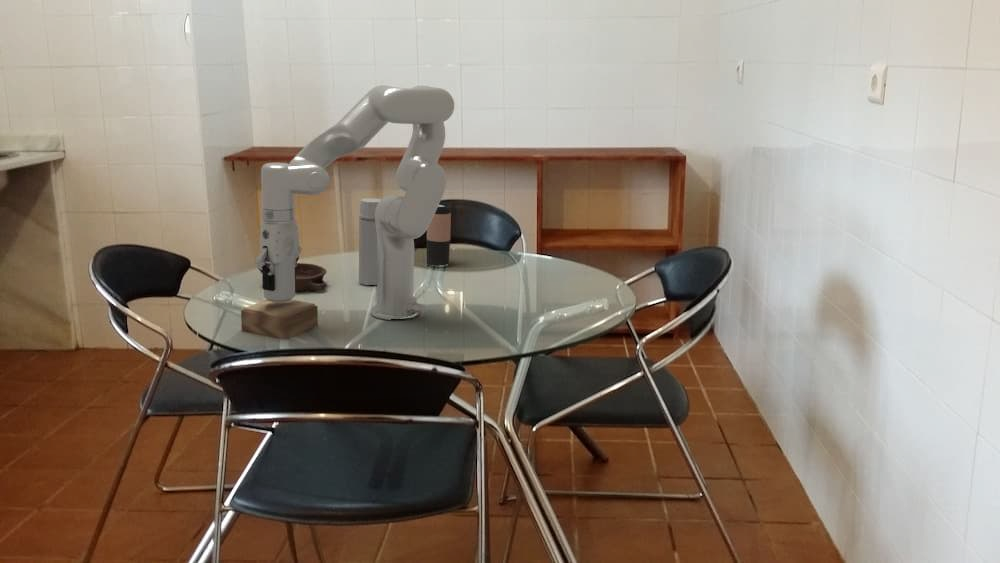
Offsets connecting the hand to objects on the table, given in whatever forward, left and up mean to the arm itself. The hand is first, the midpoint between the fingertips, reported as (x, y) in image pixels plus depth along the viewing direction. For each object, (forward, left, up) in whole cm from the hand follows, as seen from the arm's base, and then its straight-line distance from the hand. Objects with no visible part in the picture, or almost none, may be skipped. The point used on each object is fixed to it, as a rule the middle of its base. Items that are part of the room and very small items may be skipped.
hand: (279, 285), depth 212 cm
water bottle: (+3, -48, -11) cm, 49 cm away
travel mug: (-3, -78, -11) cm, 79 cm away
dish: (+20, -33, -11) cm, 40 cm away
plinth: (0, 0, -11) cm, 11 cm away
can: (0, 0, -4) cm, 4 cm away
